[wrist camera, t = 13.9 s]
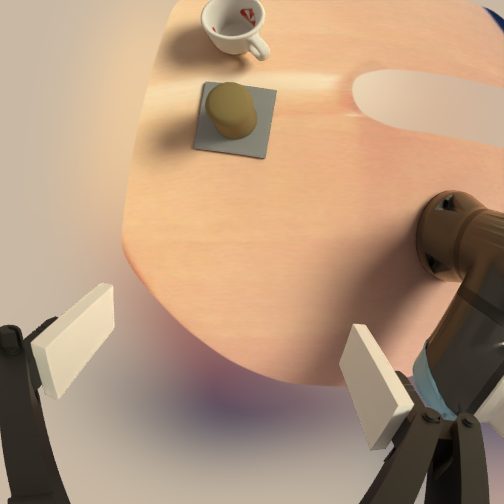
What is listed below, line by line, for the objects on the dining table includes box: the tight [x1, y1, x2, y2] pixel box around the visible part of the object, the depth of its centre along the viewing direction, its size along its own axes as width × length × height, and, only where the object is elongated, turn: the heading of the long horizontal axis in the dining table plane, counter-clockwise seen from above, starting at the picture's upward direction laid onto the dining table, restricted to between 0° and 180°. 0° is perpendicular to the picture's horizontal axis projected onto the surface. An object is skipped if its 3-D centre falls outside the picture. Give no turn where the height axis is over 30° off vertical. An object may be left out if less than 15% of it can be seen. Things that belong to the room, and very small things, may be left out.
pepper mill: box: [205, 82, 258, 140], centre depth 33 cm, size 6×6×11 cm
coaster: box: [194, 82, 277, 158], centre depth 39 cm, size 10×10×1 cm
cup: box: [201, 0, 270, 61], centre depth 32 cm, size 11×8×8 cm
